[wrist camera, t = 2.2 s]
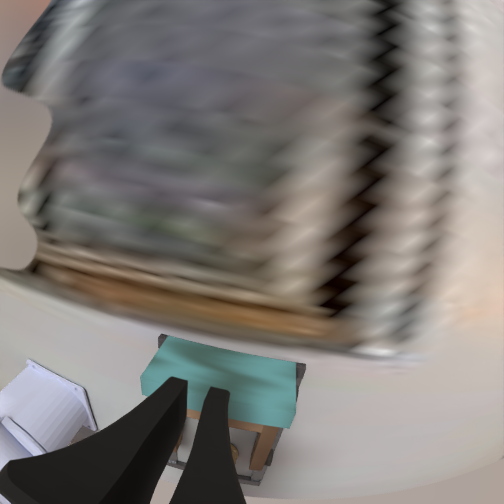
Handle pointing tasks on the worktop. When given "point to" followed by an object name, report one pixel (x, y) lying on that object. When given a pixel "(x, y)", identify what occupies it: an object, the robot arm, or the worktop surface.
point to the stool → (230, 388)
